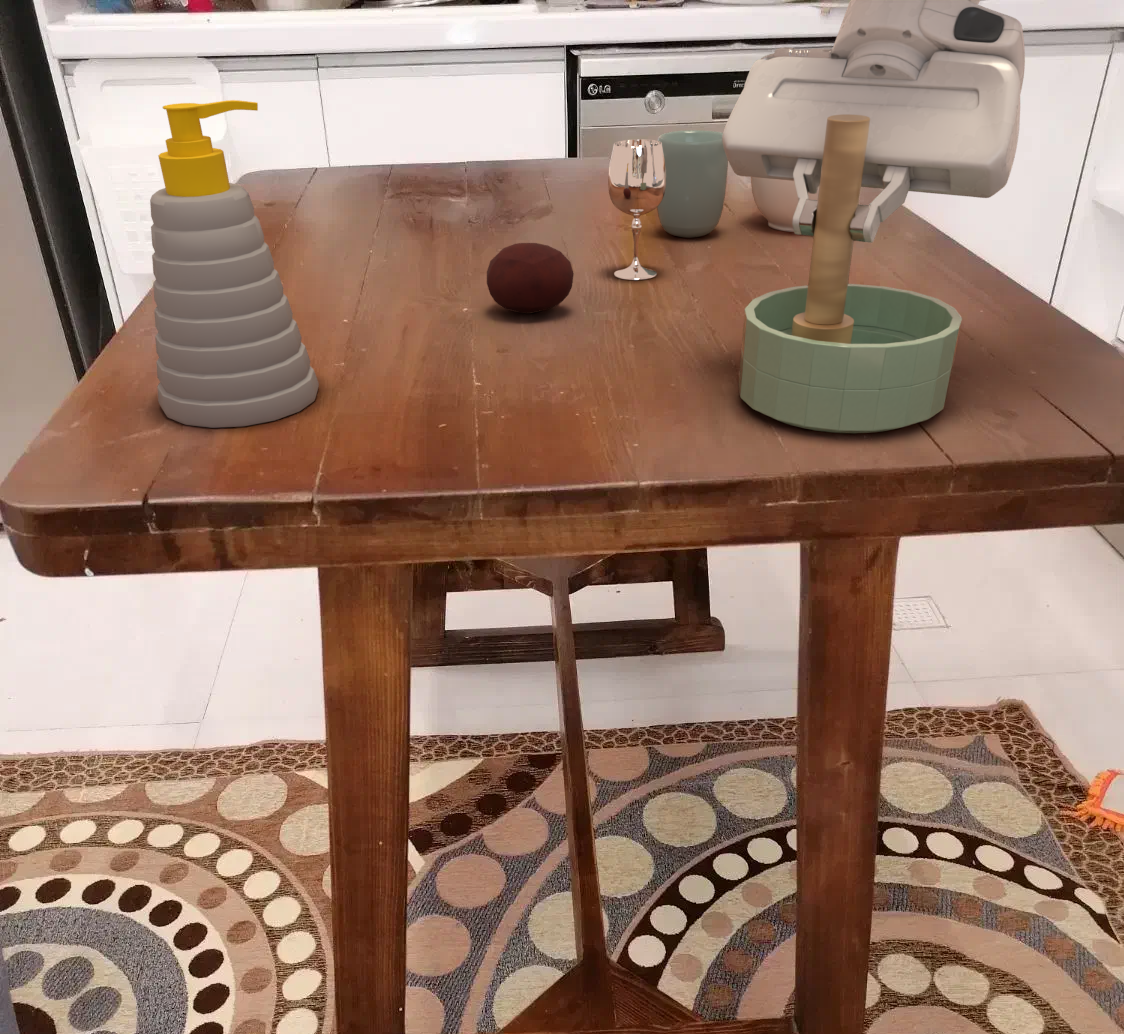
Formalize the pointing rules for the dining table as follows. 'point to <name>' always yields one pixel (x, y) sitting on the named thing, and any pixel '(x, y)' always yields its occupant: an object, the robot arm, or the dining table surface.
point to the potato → (529, 277)
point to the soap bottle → (218, 292)
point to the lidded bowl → (777, 201)
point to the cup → (693, 182)
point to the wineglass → (637, 190)
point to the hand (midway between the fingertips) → (831, 233)
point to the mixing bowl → (850, 361)
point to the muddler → (834, 231)
